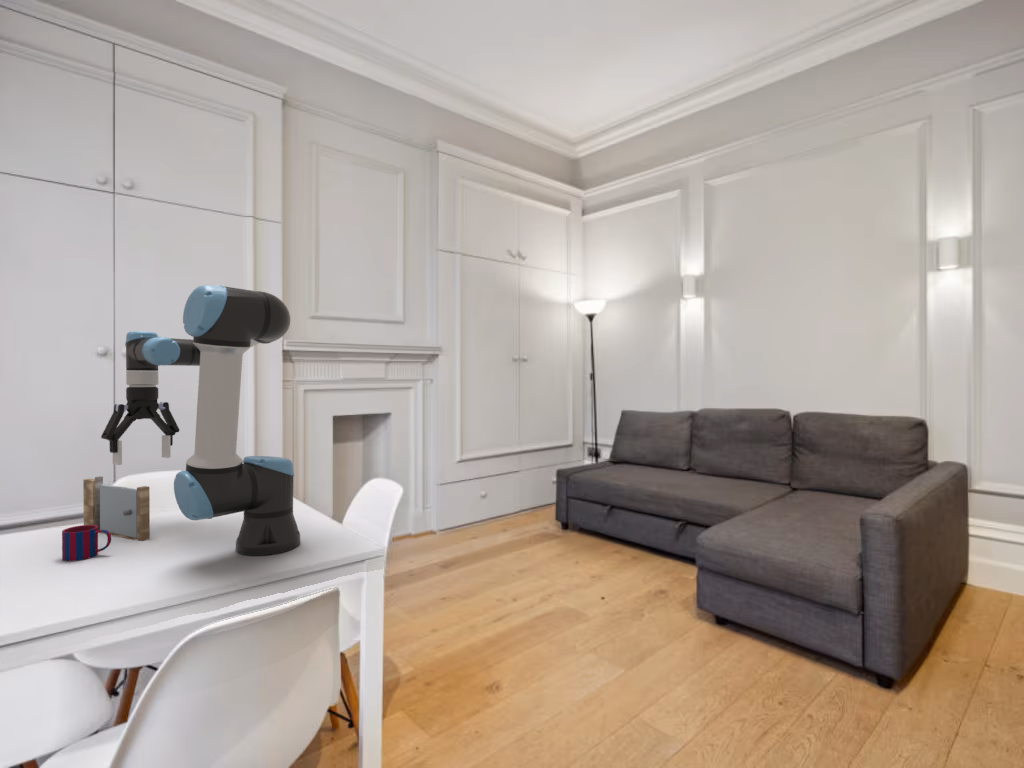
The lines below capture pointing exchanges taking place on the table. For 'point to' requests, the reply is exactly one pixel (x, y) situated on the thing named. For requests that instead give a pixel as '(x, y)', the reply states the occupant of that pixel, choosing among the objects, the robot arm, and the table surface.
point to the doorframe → (93, 508)
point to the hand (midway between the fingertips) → (142, 460)
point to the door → (118, 510)
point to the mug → (81, 542)
